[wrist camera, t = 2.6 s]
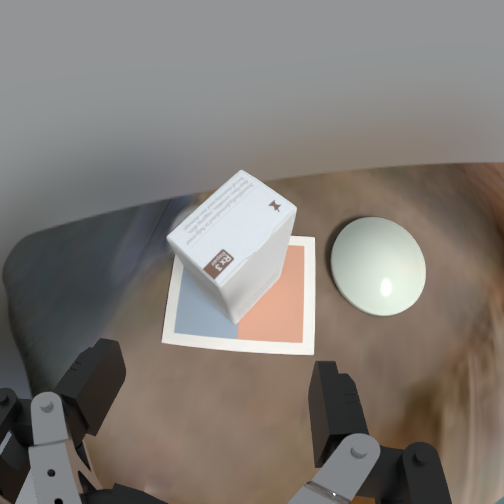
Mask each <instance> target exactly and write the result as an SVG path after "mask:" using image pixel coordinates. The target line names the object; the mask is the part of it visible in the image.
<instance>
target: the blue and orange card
mask: <svg viewBox="0 0 504 504" xmlns="http://www.w3.org/2000/svg"><path fill="white" fill-rule="evenodd" d="M314 333H315V237H303V236H290V240H289V244H288V248H287V252H286V256H285V260H284V265H283V269H282V272H281V276H280V278H279V279H278V280H277V282H276V283H275V284H274V285H273V286H272V287H271V288H270V289H269V290H268V291H267V292H266V293H265V294H264V295H263V297H262V298H261V299H260V300H259V301H258V302H257V303H256V304H255V305H254V306H253V307H252V308H251V309H250V310H249V311H248V312H247V313H246V315H245V316H244V317H243V318H242V319H241V320H240V321H239V322H238V323H237V324H233V323H232V322H231V321H230V320H229V319H228V318H227V317H226V316H225V315H224V314H223V313H222V312H221V311H219V310H218V309H217V308H216V307H215V306H214V305H213V304H212V303H211V302H210V301H209V300H208V299H207V298H206V297H205V296H203V295H202V294H201V292H200V290H199V289H198V287H197V286H196V284H195V283H194V281H193V280H192V278H191V277H190V275H189V274H188V272H187V270H186V269H185V267H184V266H183V264H182V263H181V261H180V259H179V258H178V256H177V255H176V254H175V259H174V265H173V271H172V276H171V282H170V288H169V295H168V301H167V307H166V314H165V321H164V328H163V336H162V343H167V344H174V345H182V346H190V347H199V348H208V349H218V350H229V351H241V352H254V353H271V354H294V355H314Z"/></svg>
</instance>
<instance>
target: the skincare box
mask: <svg viewBox="0 0 504 504" xmlns="http://www.w3.org/2000/svg"><path fill="white" fill-rule="evenodd" d="M296 211H297V207H296V206H295V205H293V204H292V203H290V202H289V201H288V200H286V199H285V198H284V197H282V196H281V195H279V194H278V193H276V192H275V191H274V190H272V189H271V188H269V187H268V186H266V185H265V184H263V183H262V182H261V181H259V180H258V179H256V178H255V177H253V176H252V175H250V174H248V173H247V172H245V171H243V170H239V171H238V172H237V173H236V174H235V175H234V176H232V177H231V178H230V179H229V180H228V181H227V182H226V183H225V184H223V185H222V186H221V187H220V188H219V189H218V190H217V191H216V192H214V193H213V194H212V195H211V196H210V197H209V198H208V199H207V200H206V201H204V202H203V203H202V204H201V205H200V206H199V207H198V208H197V209H196V210H195V211H193V212H192V213H191V214H190V215H189V216H188V217H187V218H186V219H185V220H184V221H183V222H181V223H180V224H179V225H178V226H177V227H176V228H175V229H174V230H173V231H172V232H171V233H170V234H169V235H167V240H168V242H169V244H170V245H171V247H172V249H173V250H174V252H175V254H176V255H177V256H178V258H179V259H180V261H181V263H182V264H183V266H184V267H185V269H186V270H187V272H188V274H189V275H190V277H191V278H192V280H193V281H194V283H195V284H196V286H197V287H198V289H199V290H200V292H201V294H202V295H203V296H205V297H206V298H207V299H208V300H209V301H210V302H211V303H212V304H213V305H214V306H215V307H216V308H217V309H218V310H219V311H221V312H222V313H223V314H224V315H225V316H226V317H227V318H228V319H229V320H230V321H231V322H232V323H233V324H237V323H238V322H239V321H240V320H241V319H242V318H243V317H244V316H245V315H246V313H247V312H248V311H249V310H250V309H251V308H252V307H253V306H254V305H255V304H256V303H257V302H258V301H259V300H260V299H261V298H262V297H263V295H264V294H265V293H266V292H267V291H268V290H269V289H270V288H271V287H272V286H273V285H274V284H275V283H276V282H277V280H278V279H279V278H280V276H281V272H282V269H283V265H284V260H285V256H286V252H287V248H288V244H289V240H290V236H291V232H292V228H293V224H294V220H295V216H296Z"/></svg>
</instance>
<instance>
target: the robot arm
mask: <svg viewBox="0 0 504 504" xmlns="http://www.w3.org/2000/svg"><path fill="white" fill-rule="evenodd" d="M74 362H75V363H73V364H72V365H71V367H70V369H68V371H67V372H66V373H65V375H64V376H63V378H62V379H61V380H60V382H59V383H58V384H57V386H56V387H55V389H54V390H53V391H52V392H43V393H41V394H39V395H37V396H36V397H35V398H34V399H33V400H28V399H19V398H18V397H17V395H16V393H15V392H14V391H13V390H12V389H10V388H1V389H0V445H1V443H2V441H3V440H4V438H5V436H6V434H7V432H8V431H9V432H10V433H11V434H12V436H11V437H10V439H9V441H8V443H7V445H6V446H5V448H4V450H3V452H2V453H1V455H0V504H15V502H16V500H17V498H18V495H19V493H20V490H21V488H22V486H23V484H24V482H25V479H26V477H27V475H28V473H29V471H30V469H31V472H32V477H33V482H34V488H35V492H36V497H37V501H38V504H168V503H166V502H164V501H161V500H159V499H157V498H155V497H153V496H151V495H149V494H147V493H145V492H143V491H140V490H137V489H133V488H130V487H126V486H123V485H120V484H117V483H115V484H114V486H113V489H103V488H102V486H101V485H100V483H99V481H98V479H97V477H96V475H95V472H94V469H93V466H92V463H91V460H90V457H89V454H88V450H87V447H86V443H85V440H84V439H83V438H84V436H85V434H86V433H87V434H90V435H93V436H96V435H97V433H98V431H99V429H100V427H101V425H102V423H103V421H104V419H105V417H106V415H107V413H108V411H109V409H110V407H111V405H112V403H113V401H114V399H115V398H116V396H117V394H118V392H119V390H120V388H121V386H122V384H123V382H124V380H125V377H126V368H125V364H124V360H123V356H122V353H121V349H120V345H119V343H118V342H117V341H114V340H109V339H104V338H101V339H99V340H98V341H97V343H96V344H95V345H94V347H93V348H90V347H89V348H88V349H86V350H85V351H83V352H82V353H80V355H79V356H78V357H77V359H76V360H75V361H74ZM357 393H358V392H357V389H356V385H355V382H354V381H353V380H352V379H351V377H350V376H349V375H348V374H338V370H337V366H336V362H335V361H316V362H315V365H314V369H313V374H312V378H311V382H310V387H309V394H308V402H309V411H310V421H311V431H312V441H313V451H314V463H315V468H321V469H320V470H319V472H318V473H317V474H316V475H315V476H314V478H313V479H312V480H311V481H310V482H307V483H306V484H305V485H304V486H303V487H302V488H301V489H300V490H299V491H298V492H297V494H296V495H295V496H294V497H293V498H292V499H291V500H290V501H289V502H288V503H287V504H350V502H351V500H352V499H353V497H354V496H355V495H356V496H362V497H370V498H375V503H376V504H452V502H451V498H450V494H449V490H448V486H447V483H446V479H445V475H444V472H443V468H442V465H441V462H440V458H439V455H438V453H437V451H436V449H435V448H434V447H433V446H432V445H430V444H428V443H424V442H416V443H413V444H411V445H409V446H408V447H407V448H406V449H405V450H403V449H395V448H388V447H384V446H381V445H379V444H378V442H377V441H376V440H375V439H374V438H373V437H371V436H370V435H369V432H368V429H367V425H366V421H365V417H364V414H363V410H362V406H361V403H360V399H359V396H358V394H357Z"/></svg>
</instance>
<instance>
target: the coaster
mask: <svg viewBox="0 0 504 504" xmlns="http://www.w3.org/2000/svg"><path fill="white" fill-rule="evenodd" d="M330 265H331V272H332V277H333V279H334V282H335V284H336V286H337V288H338V290H339V291H340V293H341V294H342V296H343V297H344V298H345V299H346V300H347V301H348V302H349V303H350V304H351V305H352V306H354V307H355V308H356V309H358V310H360V311H362V312H364V313H366V314H369V315H373V316H381V317H384V316H392V315H395V314H398V313H400V312H402V311H404V310H406V309H407V308H409V307H410V306H411V305H412V304H414V302H415V301H416V300H417V299H418V297H419V296H420V294H421V292H422V290H423V287H424V284H425V278H426V269H425V262H424V258H423V255H422V252H421V250H420V248H419V246H418V244H417V243H416V241H415V240H414V238H413V237H412V236H411V235H410V234H409V233H408V232H407V231H406V230H405V229H404V228H402V227H401V226H399V225H398V224H396V223H394V222H392V221H390V220H387V219H384V218H378V217H365V218H361V219H358V220H355V221H353V222H351V223H350V224H348V225H347V226H346V227H345V228H344V229H343V230H342V231H341V232H340V234H339V235H338V237H337V239H336V241H335V243H334V245H333V248H332V251H331V258H330Z"/></svg>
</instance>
